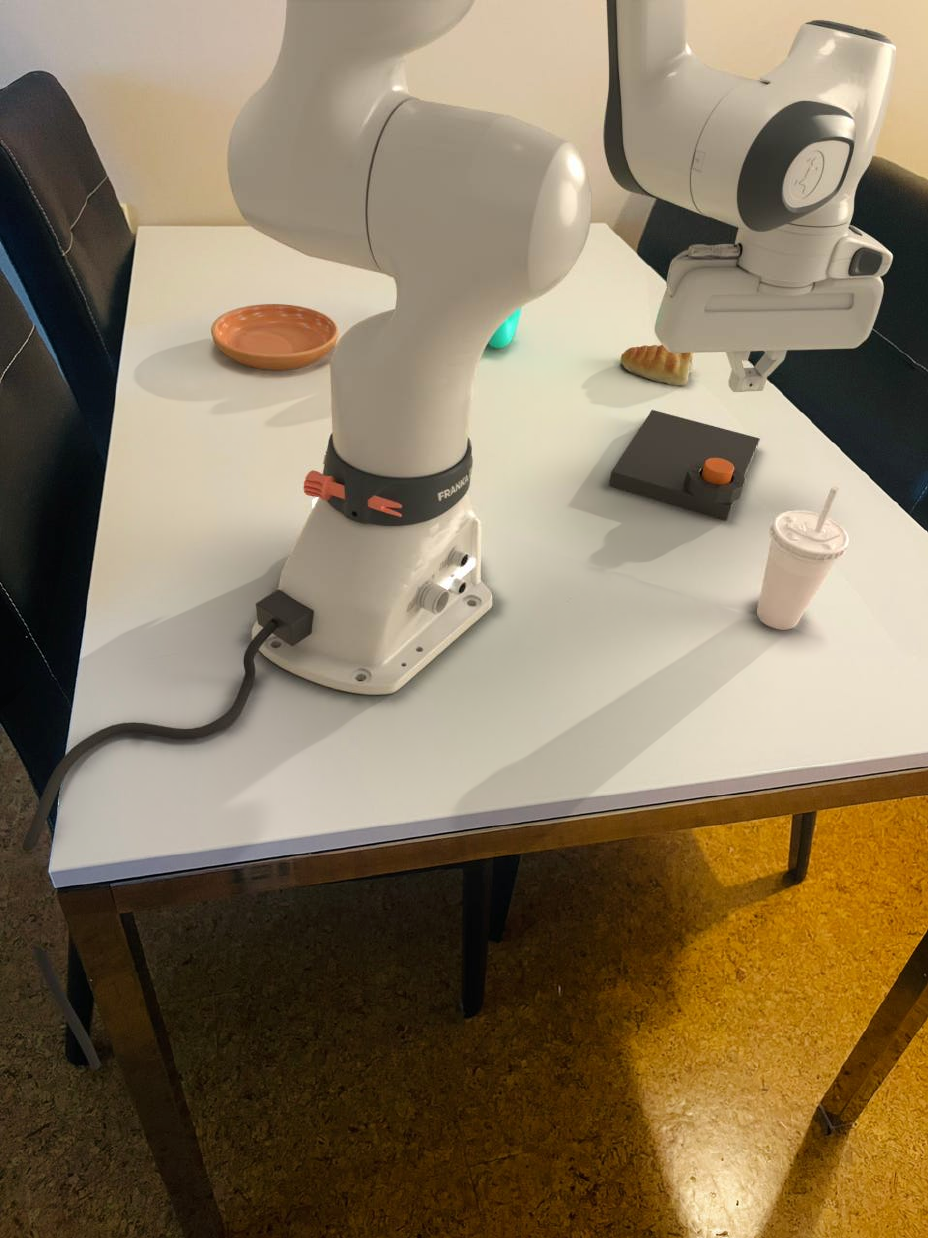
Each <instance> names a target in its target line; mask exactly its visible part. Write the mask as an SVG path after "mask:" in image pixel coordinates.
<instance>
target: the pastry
mask: <svg viewBox="0 0 928 1238" xmlns="http://www.w3.org/2000/svg"><path fill="white" fill-rule="evenodd" d="M693 358H694V353H670V352H669V351H667V349H666V348H665V347H664V346H663V345H662V344H659V345H658V344H652V345H642V346H635V347H634V346H633V347H628V349H626V350H625V351H624V352H623V353H622V354H621V356H620V364H621V365H622V366H623V368H624V369H625V370H626V371H628V372H629V373H632V374H633V375H635V376H639V377H642V378H643V379H647V380H651V381H653V382H658V383H660V384H661V383H665V384H667V385H671V386H676V387H677V386H678V387H679V386H680V387H681V386H685V385H686V384H687V383H688V380H689V376H690V373H691V372H692V370H693Z"/></svg>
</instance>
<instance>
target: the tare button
mask: <svg viewBox="0 0 928 1238" xmlns="http://www.w3.org/2000/svg"><path fill="white" fill-rule="evenodd" d="M733 471H734V466H733V464H732V463H731V462H729V461H727V460H725V459H721V458H710V459H708V460H706V461H705V464H704V468H703V472H702V478H703V479H705V480H706V481H708V482H710V483H714V484H724V485H726V484H729V483H730V480H731V477H732V474H733Z"/></svg>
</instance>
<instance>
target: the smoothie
mask: <svg viewBox="0 0 928 1238" xmlns="http://www.w3.org/2000/svg"><path fill="white" fill-rule="evenodd" d="M838 492H839V488H838V487H837V486H831V488H830V491H829V493H828V495H827V498H826V500H825V503H824V506H823V508H822V510H821V513H817V512H815V511H811V510H810V511H809V510H803V509H801V510H800V509H799V510H798V509H797V510H796V509H795V510H788V511H784V512H781V513H779V514H778V515H776V517H774V519H773V521H772V524H771V525H770V527H769V531H768V533H769V537H770V545H769V549H768V554H767V559H766V565H765V569H764V574H763V579H762V584H761V589H760V594H759V598H758V603H757V609H756V614H757V615H756V616H757V618H758V619H759V620H760V622H761V623H763V624H764V625H765V626H768V627H770V628H772V629H775V630H781V631H785V630H786V631H787V630H792V629H794V627H796V626H797V625H798V623H799V621H800V620H801V618H802V617H803V615H804V613H805V612H806V610H807V609H808V607H809V605H810V604H811V602H812V601H813V599H814V598H815V595H816V594H817V592H818V591H819V590H820V588H821V586H822V584H823V583H824V581H825V579H827V576H828V574H829V572H830V571H831V570H832V568H833V567H834V565H835V563H836V562H837V561H838V560H839V559H841V558H843V556H844V555H845V553H846V552H847V547H848V545H849V541H850V539H849V535H848V533H847V530H845V529H844V528H843V527H842V526H841V525H840V524H839V523H838V522H836V521H835V520H833V519H832V518H830V517H829V514H830V511H831V510H832V507H833V504H834V502H835V499H836V496H837V494H838Z"/></svg>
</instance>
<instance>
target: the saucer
mask: <svg viewBox="0 0 928 1238" xmlns="http://www.w3.org/2000/svg"><path fill="white" fill-rule="evenodd" d="M210 333H211V337H212V340H213V343H214V345H215V346H216V347H217V348H218V349H219V350H220V351H222V352H223V353H224V354H225V355H226V356H228V357H230V358H231V359H233V360H234V361H235V362H237V363H238V364H241V365H244V366H246V367H248V368H249V367H250V368H253V369H258V370H266V371H287V370H294V369H299V368H300V369H301V368H304V367H307V366H310V365H312V364H314V363H316V362H317V361H319V360H320V359H322V358H323V356H325V355H326V354H327V353H329V352H330V351H331V349H332V348H334V346H336V344H337V342H338V336H339V329H338V326H337V324H336V322H335V321H334V320H333V319H332V318H331V317H329V316H328V315H326V314H325V313H323V312H320V311H318V310H315V309H313V308H309V307H304V306H301V305H296V304H295V305H294V304H285V303H284V304H283V303H262V304H253V305H245V306H241V307H238V308H235V309H234V308H233V309H232V310H229V311H226V312H224V313H223V314H221V315H219V317H217V318H216V319H215V320H214V321H213V323H212V325H211V328H210Z"/></svg>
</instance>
